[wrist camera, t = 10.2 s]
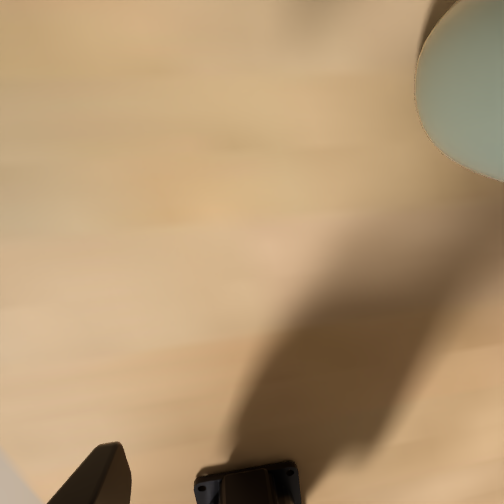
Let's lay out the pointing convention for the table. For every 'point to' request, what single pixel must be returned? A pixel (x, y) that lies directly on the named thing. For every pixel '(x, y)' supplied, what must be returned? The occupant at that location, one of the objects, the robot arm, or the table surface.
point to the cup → (465, 86)
